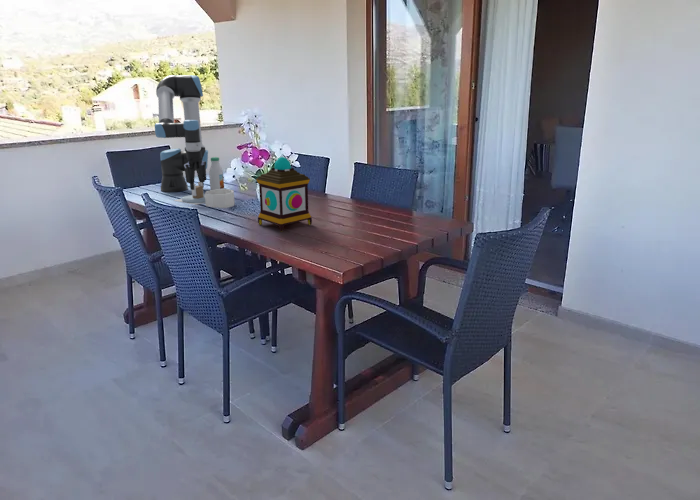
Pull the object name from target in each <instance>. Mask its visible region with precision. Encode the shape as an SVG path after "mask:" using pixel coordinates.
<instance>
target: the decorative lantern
mask: <svg viewBox="0 0 700 500" xmlns="http://www.w3.org/2000/svg"><path fill="white" fill-rule="evenodd" d="M255 180H256V182H257V183H258V189H259V192H258V193H259V207H260V212H259V214H258V216H257V223H258V225H262V224H263V221H264V222H267V223H270V224H274V225H276V226H278V227H279V231H280V233H281V232H284V226H286V225H290V224H296V223H300V222H304V221H307V225H309V226H310V225H312V222H313V220H312V216H311V214H310V211H309V195H308V194H309V187H308V186H309V183H310V180H311V179H310V178H309V176H307V175H306V174H304V173H300V172H298V170H296V169H294V167H292V166H291V161H290V160H289V159H287V157H284V156H281V157H279V158H277V160H275V162H274V167H272V168H271V169H270V170H269V171H267V172H266V173H262V174H260V176H257V178H256V179H255Z"/></svg>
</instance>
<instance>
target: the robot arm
mask: <svg viewBox="0 0 700 500" xmlns="http://www.w3.org/2000/svg"><path fill="white" fill-rule="evenodd" d="M155 90H156V91H155V92H156V93H155V94H156V98H158V100H157V101H158V122H156V123H155V124H154V132H155V137H157V138H158V139H159V138H160V139H162V138H163V139H172V138H184V141H185V142H184V143H185V146H184V150H182V149H181V148H170V149H166V150H162V151H161V152H160V153H159V154H160V159H159V160H160V166H161V173H162V174H161V176H162V178H161V181H160V182H161V183H160V191H162V192H165V193H166V192H169V193H172V192H173V193H174V192H181V191H182V192H183V191H186V190H188V189H189V187H190V190H191V195H192V196H197V194H196V186H203V189H204V187H205V185H204V184H205V182H206V181H207V170H208V162H209V161H208V158H209V150H207V149H206V146H205V145H203V140H202V139H203V137H202V129H201V128H202V127H201V126H202V125H201V117H200V116H201V115H200V105H199V102H200V101H201V99H202V98H201V97H203V96H204V93H203V87H202V84H201V79H200V77H199V76H198V75H192V74H186V75H185V74H178V75H177V74H171V75H168V76H165V77H163V78H162V79H161V80H160V81H159V83H158V84H157V87H156V89H155ZM175 97H178V98H179V100H180V101H181V102H182V105H183V106H182V107H183V117H184V118H183V119H184V120H183V122H175V117H174V98H175ZM184 174H185V176H184ZM195 174H197V177H198V178H197V179H198V181H197V185H196V183H195V176H196V175H195ZM188 184H189V187H188ZM203 194H205V193H204V192H203Z"/></svg>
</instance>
